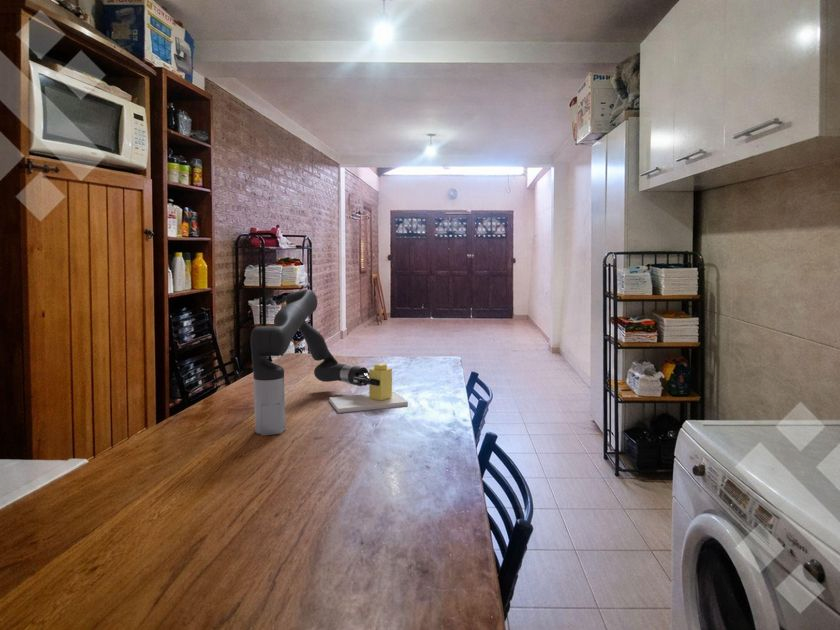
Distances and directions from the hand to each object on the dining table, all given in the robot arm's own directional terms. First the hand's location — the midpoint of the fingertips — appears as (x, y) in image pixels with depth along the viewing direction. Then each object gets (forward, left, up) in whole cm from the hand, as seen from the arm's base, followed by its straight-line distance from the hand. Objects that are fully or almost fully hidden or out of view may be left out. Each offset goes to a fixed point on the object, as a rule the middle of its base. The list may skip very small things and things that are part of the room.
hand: (385, 381), depth 196 cm
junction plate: (+2, +6, -8) cm, 11 cm away
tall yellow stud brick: (+2, +1, -7) cm, 7 cm away
